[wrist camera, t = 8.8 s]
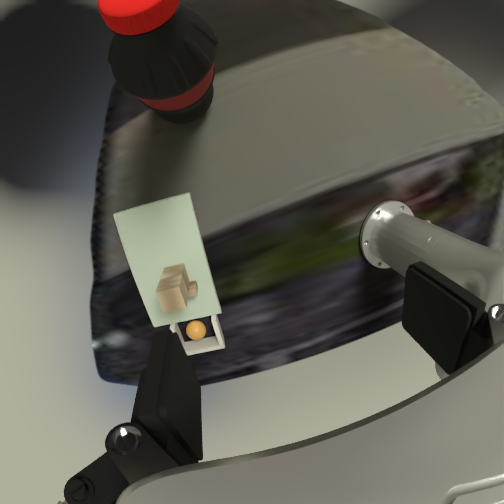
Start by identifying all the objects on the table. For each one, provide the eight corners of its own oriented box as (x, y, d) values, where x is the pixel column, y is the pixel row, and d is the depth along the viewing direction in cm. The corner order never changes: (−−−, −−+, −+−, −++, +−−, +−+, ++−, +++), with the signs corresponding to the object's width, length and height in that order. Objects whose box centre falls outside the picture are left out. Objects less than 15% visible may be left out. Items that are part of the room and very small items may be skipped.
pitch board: (189, 191, 40) (189, 193, 39) (221, 308, 47) (221, 313, 46) (115, 212, 39) (113, 214, 38) (155, 322, 46) (154, 327, 45)
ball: (202, 314, 46) (203, 330, 44) (207, 326, 48) (209, 341, 46) (183, 318, 46) (183, 334, 43) (189, 330, 48) (190, 345, 45)
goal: (215, 311, 47) (216, 320, 44) (224, 337, 49) (225, 347, 46) (171, 320, 46) (169, 330, 44) (181, 346, 49) (181, 356, 46)
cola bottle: (185, 61, 33) (153, -78, 5) (225, 97, 36) (263, -19, 8) (143, 100, 34) (29, 18, 6) (182, 137, 37) (116, 94, 9)
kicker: (190, 261, 42) (186, 285, 34) (198, 287, 43) (196, 314, 36) (158, 269, 41) (148, 293, 34) (166, 294, 43) (159, 321, 36)
